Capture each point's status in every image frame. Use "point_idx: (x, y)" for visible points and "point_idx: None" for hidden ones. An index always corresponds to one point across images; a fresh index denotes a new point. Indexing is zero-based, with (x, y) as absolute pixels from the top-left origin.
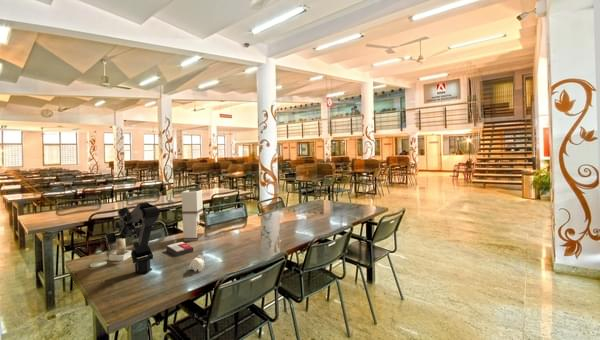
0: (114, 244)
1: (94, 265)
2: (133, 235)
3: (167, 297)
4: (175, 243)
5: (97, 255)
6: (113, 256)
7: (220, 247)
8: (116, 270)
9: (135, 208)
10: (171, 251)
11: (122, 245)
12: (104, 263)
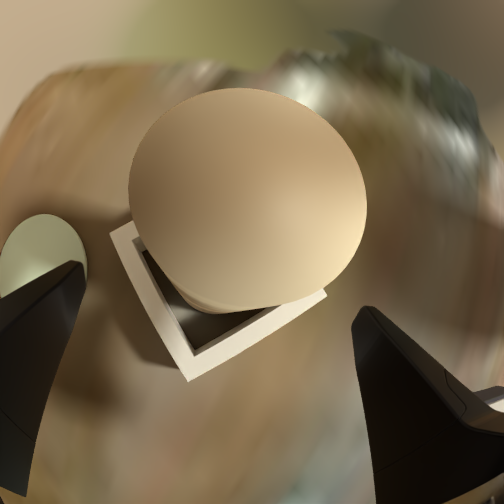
0: (44, 389)
1: (10, 284)
2: (433, 486)
3: None
4: (502, 403)
5: (159, 75)
6: (132, 281)
7: None
8: (81, 497)
9: None
10: None
11: (225, 311)
12: None
